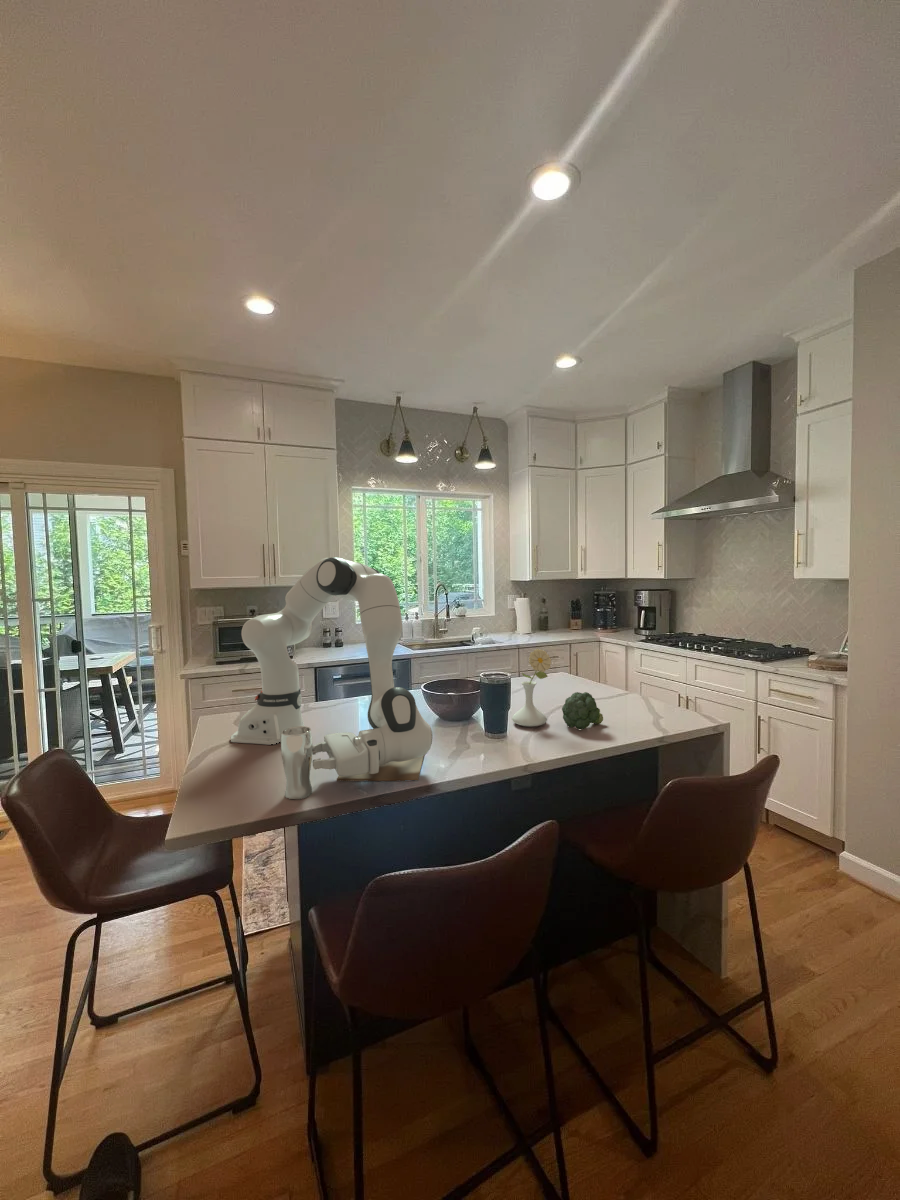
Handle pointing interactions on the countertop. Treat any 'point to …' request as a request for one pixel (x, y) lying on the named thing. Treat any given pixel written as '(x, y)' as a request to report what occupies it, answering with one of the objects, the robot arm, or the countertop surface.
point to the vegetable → (581, 711)
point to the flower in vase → (529, 712)
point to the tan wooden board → (391, 772)
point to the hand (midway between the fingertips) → (310, 757)
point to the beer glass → (297, 761)
